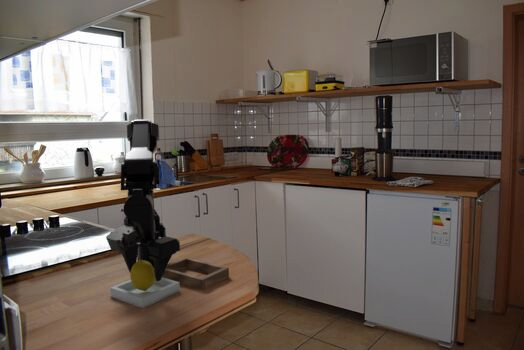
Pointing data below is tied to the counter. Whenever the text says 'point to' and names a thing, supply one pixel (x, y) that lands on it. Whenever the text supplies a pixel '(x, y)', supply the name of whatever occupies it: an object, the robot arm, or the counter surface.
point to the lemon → (142, 275)
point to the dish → (145, 292)
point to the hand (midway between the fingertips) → (144, 276)
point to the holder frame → (213, 270)
